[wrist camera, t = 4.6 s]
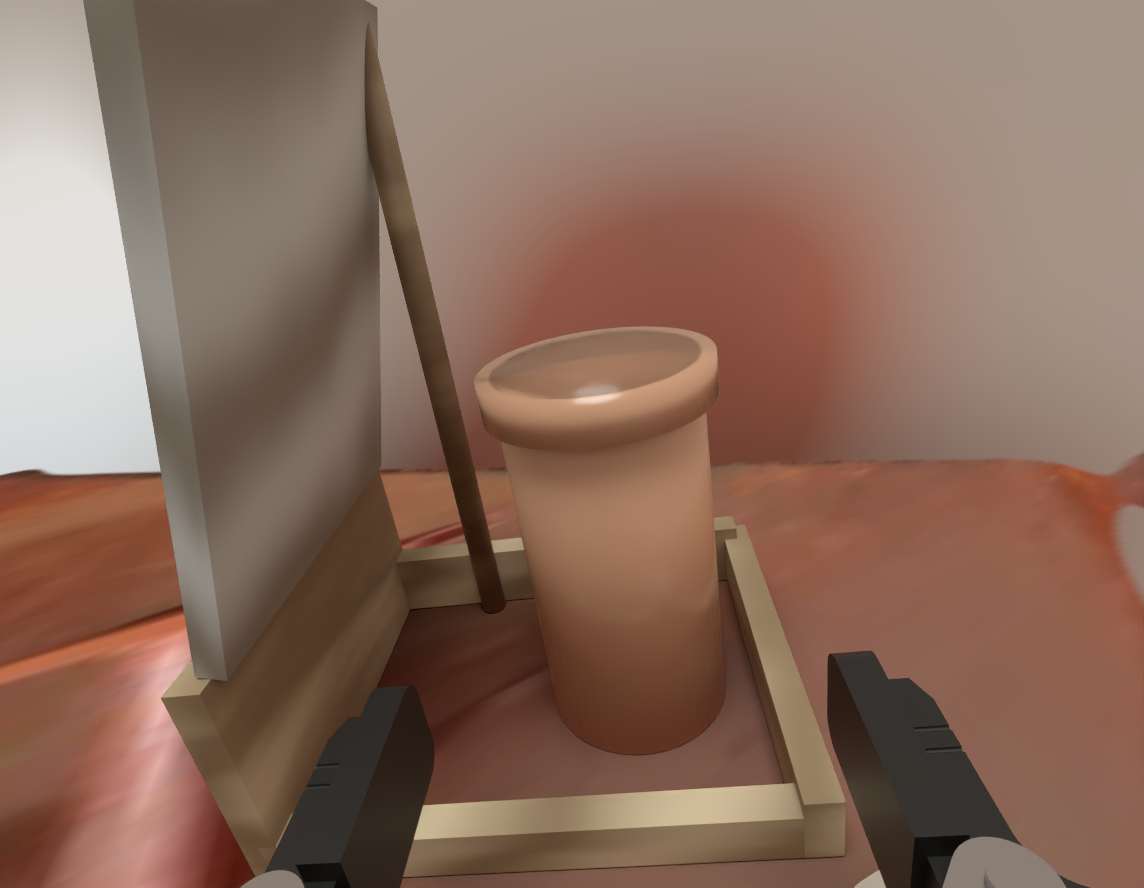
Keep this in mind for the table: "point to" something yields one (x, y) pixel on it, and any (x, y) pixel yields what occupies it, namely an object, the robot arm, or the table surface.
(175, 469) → the cold frame
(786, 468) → the table surface
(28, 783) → the table surface
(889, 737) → the robot arm
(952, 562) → the table surface
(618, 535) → the clay pot
